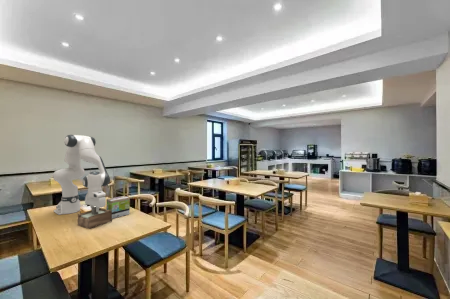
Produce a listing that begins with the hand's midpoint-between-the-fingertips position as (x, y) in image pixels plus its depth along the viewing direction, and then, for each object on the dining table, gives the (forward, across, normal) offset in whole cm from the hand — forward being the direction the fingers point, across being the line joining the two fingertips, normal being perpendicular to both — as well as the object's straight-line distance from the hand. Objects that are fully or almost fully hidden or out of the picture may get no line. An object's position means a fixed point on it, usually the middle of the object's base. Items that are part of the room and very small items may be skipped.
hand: (95, 211), depth 152 cm
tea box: (+9, 0, +19) cm, 21 cm away
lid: (+3, 0, 0) cm, 3 cm away
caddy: (+9, 0, 0) cm, 9 cm away
